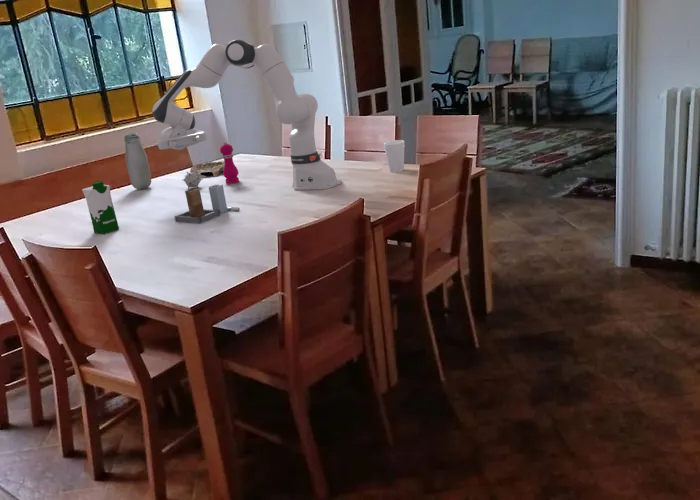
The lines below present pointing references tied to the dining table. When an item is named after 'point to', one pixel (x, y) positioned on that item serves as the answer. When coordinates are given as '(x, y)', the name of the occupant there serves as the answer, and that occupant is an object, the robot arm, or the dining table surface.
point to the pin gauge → (233, 209)
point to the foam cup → (395, 155)
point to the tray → (186, 217)
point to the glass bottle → (137, 162)
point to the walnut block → (194, 203)
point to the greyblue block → (218, 198)
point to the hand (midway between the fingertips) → (186, 141)
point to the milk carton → (101, 208)
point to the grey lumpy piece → (192, 179)
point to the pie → (209, 168)
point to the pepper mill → (229, 164)
